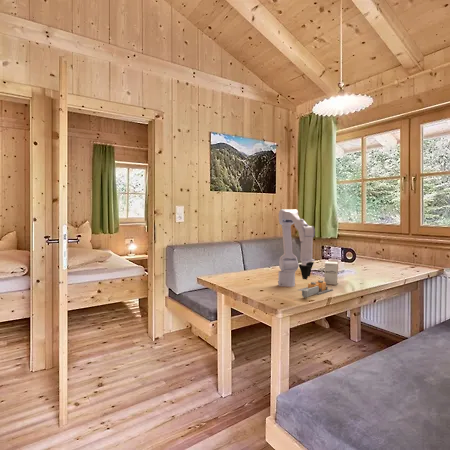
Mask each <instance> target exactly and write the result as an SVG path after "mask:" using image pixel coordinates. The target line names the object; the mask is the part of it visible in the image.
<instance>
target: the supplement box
mask: <svg viewBox="0 0 450 450" xmlns="http://www.w3.org/2000/svg"><path fill="white" fill-rule="evenodd" d="M338 266H339V261H324V274H323V275H324V279H323V282H326V285H331V286H332V285H335V286H337V285H338V271H339V270H338V268H339V267H338Z"/></svg>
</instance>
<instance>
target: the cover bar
mask: <svg viewBox="0 0 450 450" xmlns="http://www.w3.org/2000/svg"><path fill="white" fill-rule="evenodd" d="M317 293H319V286H316V287H312V288H309V289H305V290H302V291H301V297H302V298H308V297H310V296H313V295H316V294H317Z"/></svg>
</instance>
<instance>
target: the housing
mask: <svg viewBox="0 0 450 450" xmlns="http://www.w3.org/2000/svg"><path fill="white" fill-rule="evenodd" d="M305 289H308V286H307V287H303V288H299V289H298V291H300V292H302V290H305ZM333 291H334V289H333V288H331V289H329V288H328V286H327V285H326V290H323V291H322V288H319V293H317V294H315V295H316V296H320V295H324V294H326V293H330V292H333Z"/></svg>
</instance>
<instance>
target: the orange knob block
mask: <svg viewBox="0 0 450 450" xmlns="http://www.w3.org/2000/svg"><path fill="white" fill-rule="evenodd" d="M315 283H316V284H319V288H322V291H323V290H326V286H327V284H326V282H324V280H317V281H315Z"/></svg>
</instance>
